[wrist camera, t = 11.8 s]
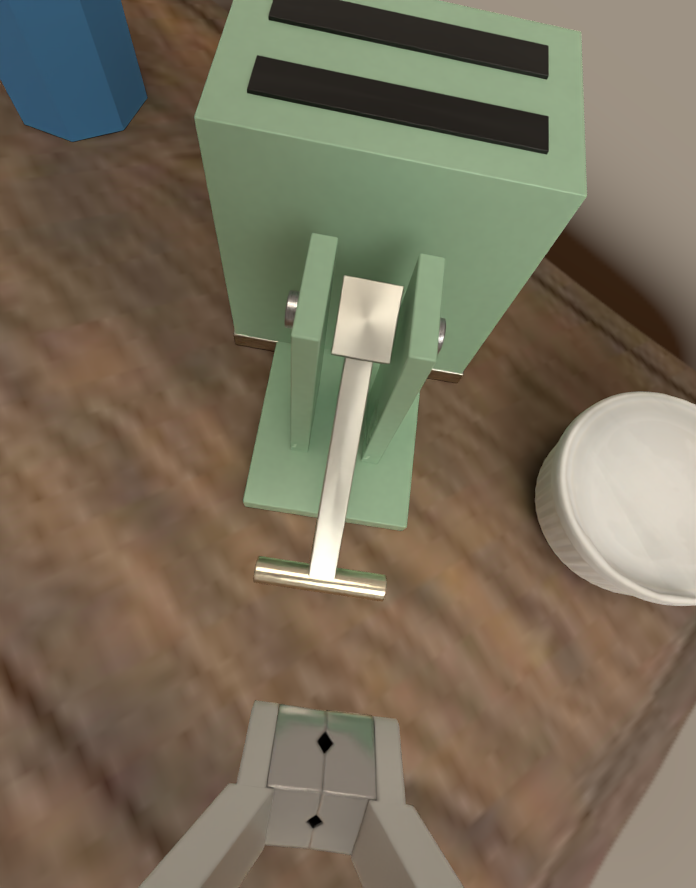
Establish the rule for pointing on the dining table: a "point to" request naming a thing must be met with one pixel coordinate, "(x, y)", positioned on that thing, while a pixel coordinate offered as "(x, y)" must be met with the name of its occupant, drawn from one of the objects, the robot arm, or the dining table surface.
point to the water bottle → (70, 66)
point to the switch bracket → (316, 391)
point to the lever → (344, 442)
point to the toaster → (390, 154)
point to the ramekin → (626, 497)
